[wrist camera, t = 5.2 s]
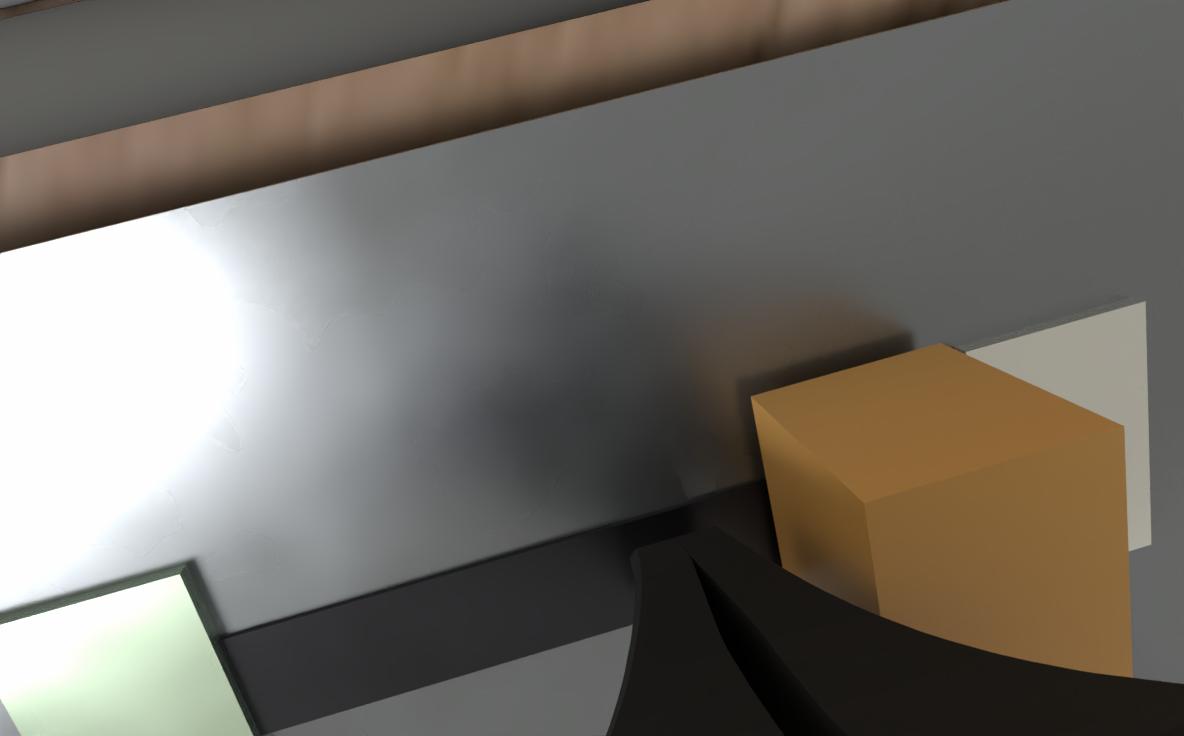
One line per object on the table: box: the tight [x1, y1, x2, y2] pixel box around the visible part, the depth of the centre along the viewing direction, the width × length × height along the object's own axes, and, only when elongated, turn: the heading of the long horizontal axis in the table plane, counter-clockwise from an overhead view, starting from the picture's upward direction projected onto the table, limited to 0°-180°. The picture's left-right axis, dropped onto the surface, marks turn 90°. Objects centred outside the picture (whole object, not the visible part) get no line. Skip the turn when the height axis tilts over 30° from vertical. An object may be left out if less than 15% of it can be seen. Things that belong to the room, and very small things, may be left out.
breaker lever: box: [751, 343, 1133, 678], centre depth 11 cm, size 3×5×4 cm, turn 13°
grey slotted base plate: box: [0, 0, 649, 157], centre depth 14 cm, size 16×21×2 cm
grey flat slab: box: [0, 0, 1184, 736], centre depth 14 cm, size 20×14×2 cm
